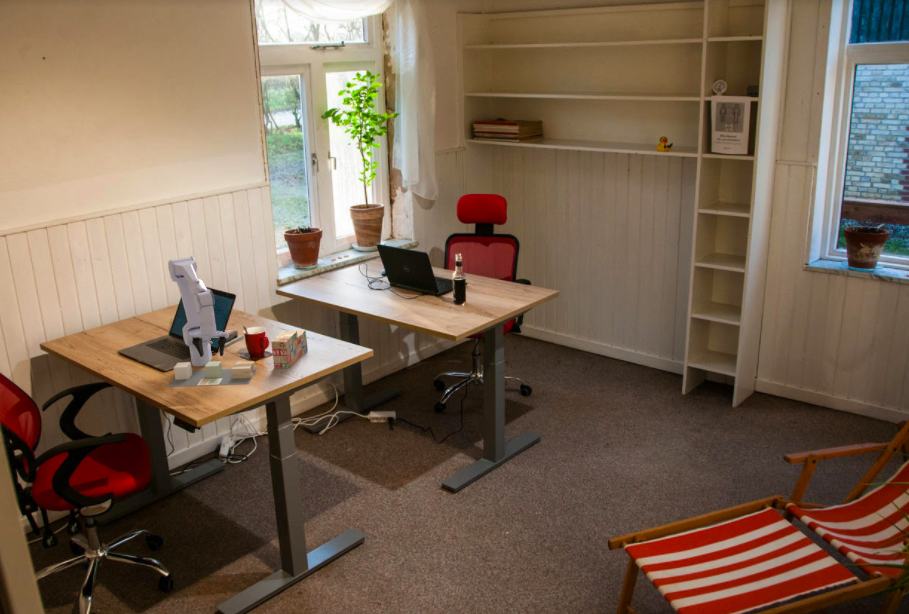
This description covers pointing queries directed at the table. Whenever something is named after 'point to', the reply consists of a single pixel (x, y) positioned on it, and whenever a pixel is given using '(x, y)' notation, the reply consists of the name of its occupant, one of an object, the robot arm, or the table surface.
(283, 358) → the stack of blocks
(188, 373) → the offwhite cube
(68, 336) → the table surface
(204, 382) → the card
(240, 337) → the stapler
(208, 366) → the sage cube
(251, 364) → the base block
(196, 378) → the mat
